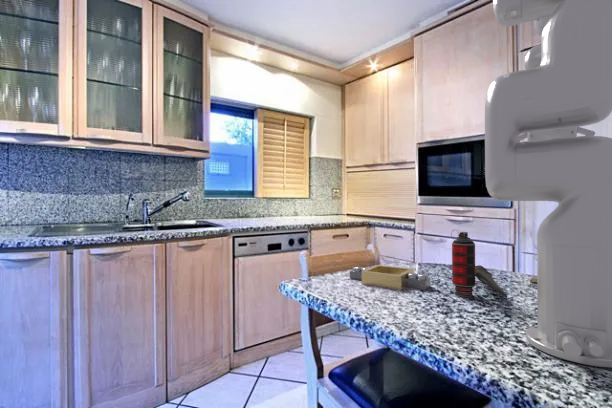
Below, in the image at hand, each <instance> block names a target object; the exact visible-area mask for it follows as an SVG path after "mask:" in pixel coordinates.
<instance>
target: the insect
mask: <svg viewBox="0 0 612 408" xmlns="http://www.w3.org/2000/svg"><path fill="white" fill-rule="evenodd" d="M528 281H529V282H530V284H529V286H531V285H537V275H534V276H533V277H532V276H531V277H530V279H529V280H528Z"/></svg>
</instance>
